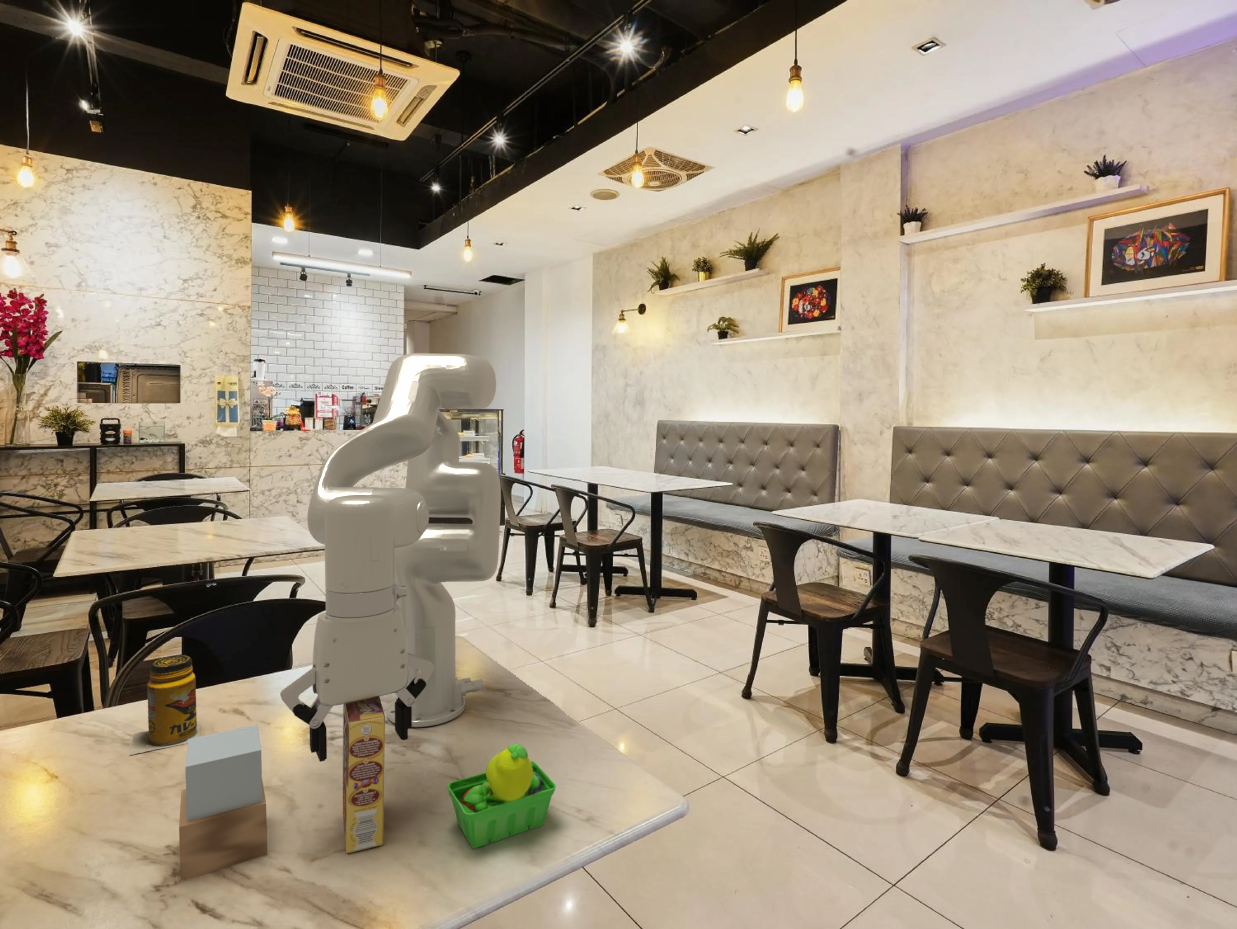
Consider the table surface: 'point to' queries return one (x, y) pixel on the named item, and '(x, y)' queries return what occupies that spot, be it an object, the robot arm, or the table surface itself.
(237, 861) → the walnut block
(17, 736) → the table surface
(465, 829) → the fruit basket
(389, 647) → the robot arm
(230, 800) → the slate block
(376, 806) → the candy box
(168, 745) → the condiment
